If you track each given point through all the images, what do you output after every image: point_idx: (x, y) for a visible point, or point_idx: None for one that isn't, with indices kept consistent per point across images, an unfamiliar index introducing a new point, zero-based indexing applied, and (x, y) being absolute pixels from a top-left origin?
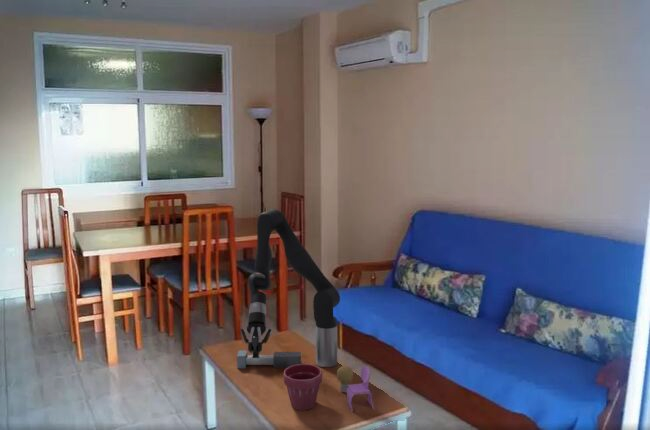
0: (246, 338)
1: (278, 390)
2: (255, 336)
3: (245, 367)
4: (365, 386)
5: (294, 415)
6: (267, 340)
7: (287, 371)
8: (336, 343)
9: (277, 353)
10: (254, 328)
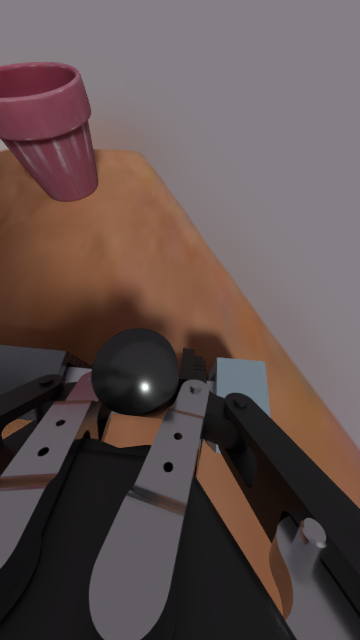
0: (237, 411)
1: (111, 230)
2: (129, 367)
3: (209, 372)
4: None
5: (101, 164)
6: (23, 434)
7: (63, 100)
8: None
9: None
10: (94, 591)
